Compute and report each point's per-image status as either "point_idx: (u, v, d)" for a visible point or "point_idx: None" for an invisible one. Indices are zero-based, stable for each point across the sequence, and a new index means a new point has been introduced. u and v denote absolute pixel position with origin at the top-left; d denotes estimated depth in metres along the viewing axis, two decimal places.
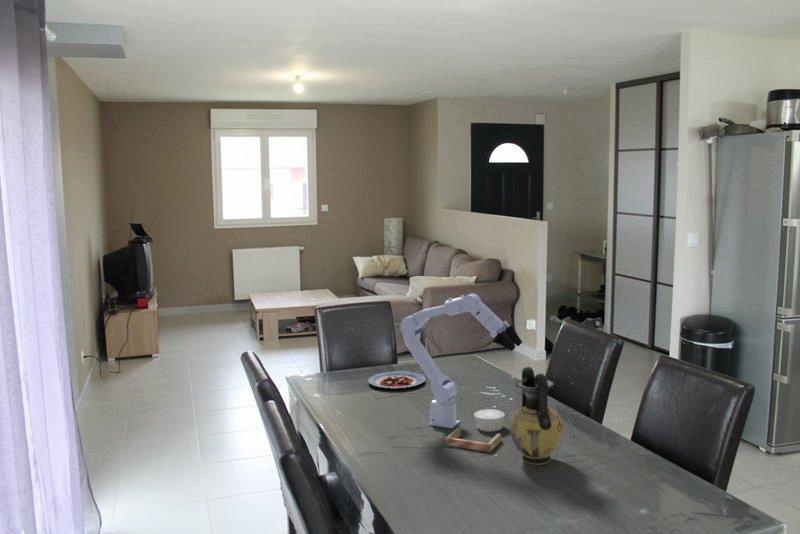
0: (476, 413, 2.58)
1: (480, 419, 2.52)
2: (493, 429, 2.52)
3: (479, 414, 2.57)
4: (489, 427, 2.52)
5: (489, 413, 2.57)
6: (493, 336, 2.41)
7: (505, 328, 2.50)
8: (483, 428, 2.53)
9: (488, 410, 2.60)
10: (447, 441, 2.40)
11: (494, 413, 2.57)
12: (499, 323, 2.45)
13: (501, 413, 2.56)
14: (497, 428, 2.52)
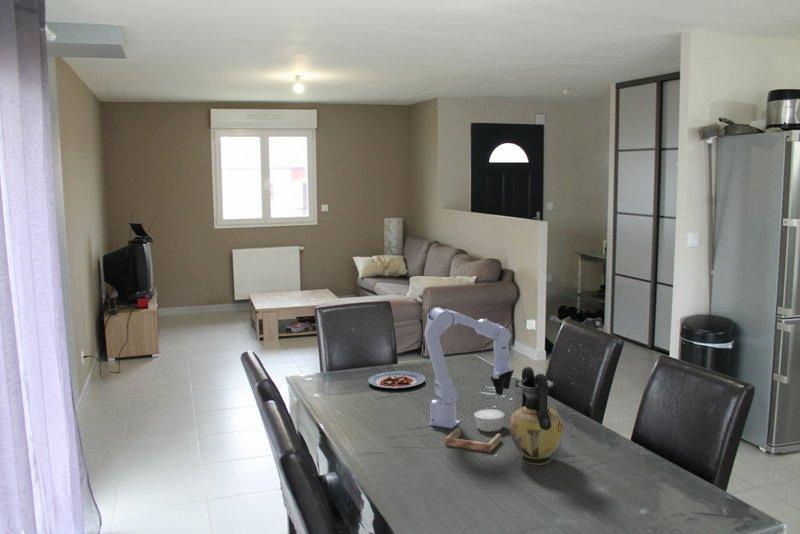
0: (476, 413, 2.58)
1: (480, 419, 2.52)
2: (493, 429, 2.52)
3: (479, 414, 2.57)
4: (489, 427, 2.52)
5: (489, 413, 2.57)
6: (494, 377, 2.59)
7: None
8: (483, 428, 2.53)
9: (488, 410, 2.60)
10: (447, 441, 2.40)
11: (494, 413, 2.57)
12: (506, 368, 2.63)
13: (501, 413, 2.56)
14: (497, 428, 2.52)
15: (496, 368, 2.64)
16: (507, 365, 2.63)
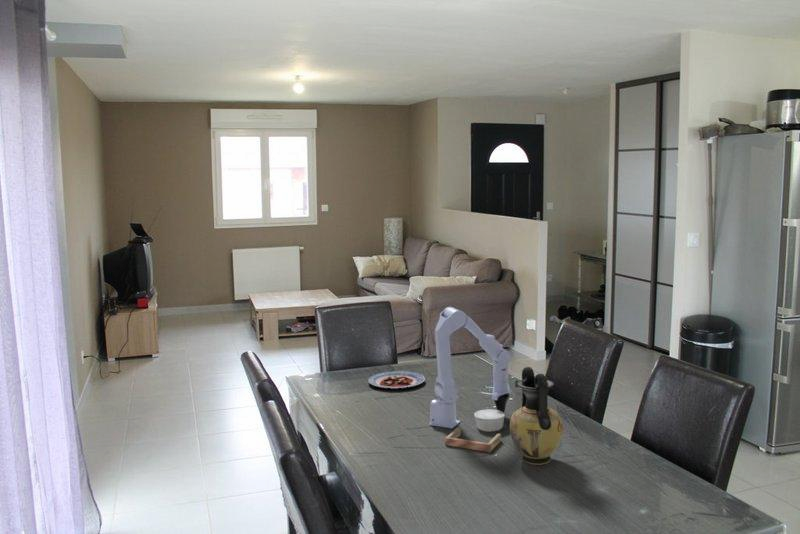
0: (476, 413, 2.58)
1: (480, 419, 2.52)
2: (493, 429, 2.52)
3: (479, 414, 2.57)
4: (489, 427, 2.52)
5: (489, 413, 2.57)
6: (493, 398, 2.61)
7: None
8: (483, 428, 2.53)
9: (488, 410, 2.60)
10: (447, 441, 2.40)
11: (494, 413, 2.57)
12: (505, 389, 2.64)
13: (501, 413, 2.56)
14: (497, 428, 2.52)
15: (495, 389, 2.65)
16: (506, 387, 2.65)
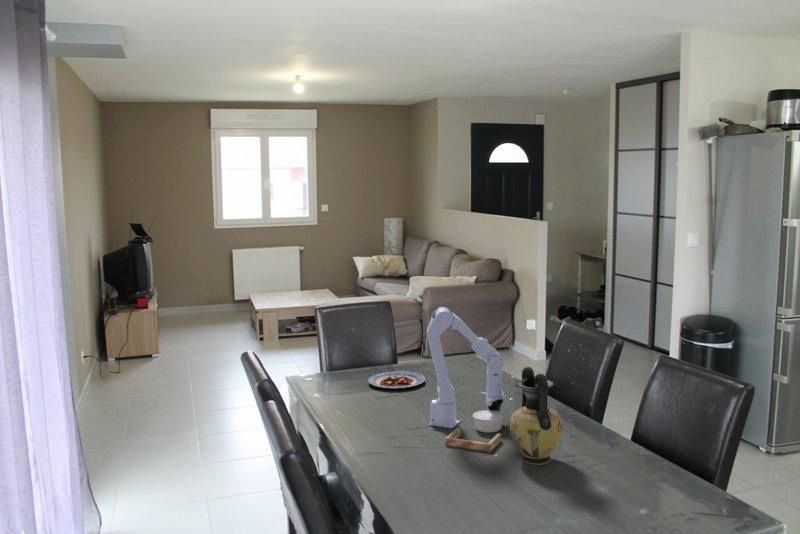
0: (475, 414, 2.57)
1: (479, 420, 2.51)
2: (492, 430, 2.51)
3: (478, 415, 2.56)
4: (488, 428, 2.50)
5: (488, 414, 2.55)
6: (486, 404, 2.55)
7: None
8: (482, 429, 2.51)
9: (487, 411, 2.59)
10: (447, 441, 2.40)
11: (493, 413, 2.56)
12: (499, 395, 2.58)
13: (500, 414, 2.55)
14: (496, 429, 2.51)
15: (488, 395, 2.59)
16: (500, 392, 2.58)
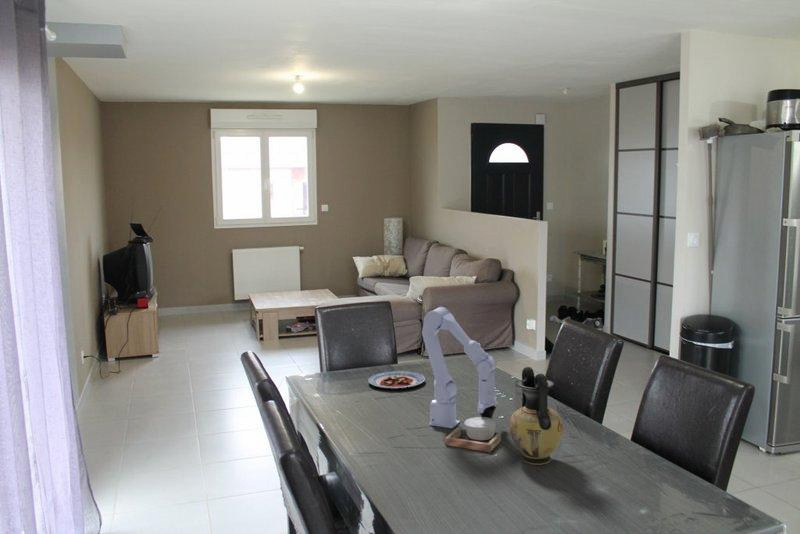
0: (466, 421, 2.49)
1: (470, 427, 2.44)
2: (484, 438, 2.43)
3: (470, 422, 2.49)
4: (480, 436, 2.43)
5: (480, 421, 2.48)
6: (478, 411, 2.47)
7: None
8: (474, 437, 2.44)
9: (479, 418, 2.52)
10: (447, 441, 2.40)
11: (485, 421, 2.49)
12: (491, 401, 2.51)
13: (492, 421, 2.48)
14: (488, 437, 2.44)
15: (481, 401, 2.52)
16: (492, 399, 2.51)
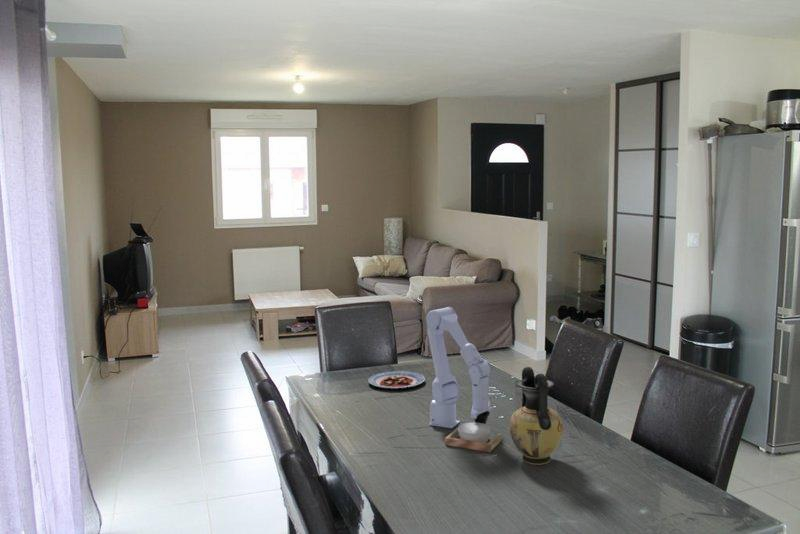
0: (460, 427, 2.44)
1: (464, 433, 2.38)
2: None
3: (463, 428, 2.43)
4: None
5: (474, 427, 2.43)
6: (472, 417, 2.42)
7: None
8: None
9: (473, 423, 2.46)
10: (447, 441, 2.40)
11: (479, 426, 2.43)
12: (485, 407, 2.45)
13: (486, 427, 2.42)
14: None
15: (474, 407, 2.46)
16: (486, 404, 2.45)
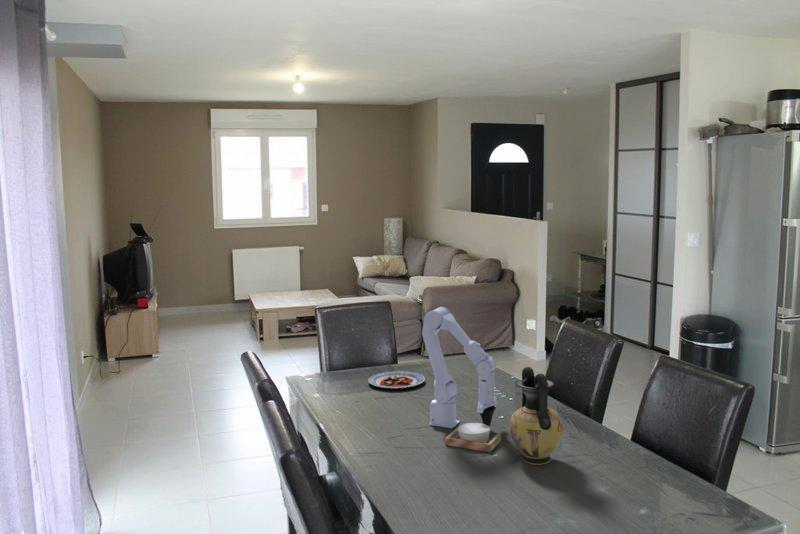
0: (460, 427, 2.44)
1: (464, 434, 2.38)
2: None
3: (463, 428, 2.43)
4: None
5: (474, 427, 2.43)
6: (478, 411, 2.47)
7: None
8: None
9: (473, 424, 2.46)
10: (447, 441, 2.40)
11: (479, 427, 2.43)
12: (491, 402, 2.51)
13: (486, 427, 2.43)
14: None
15: (480, 401, 2.51)
16: (492, 399, 2.51)
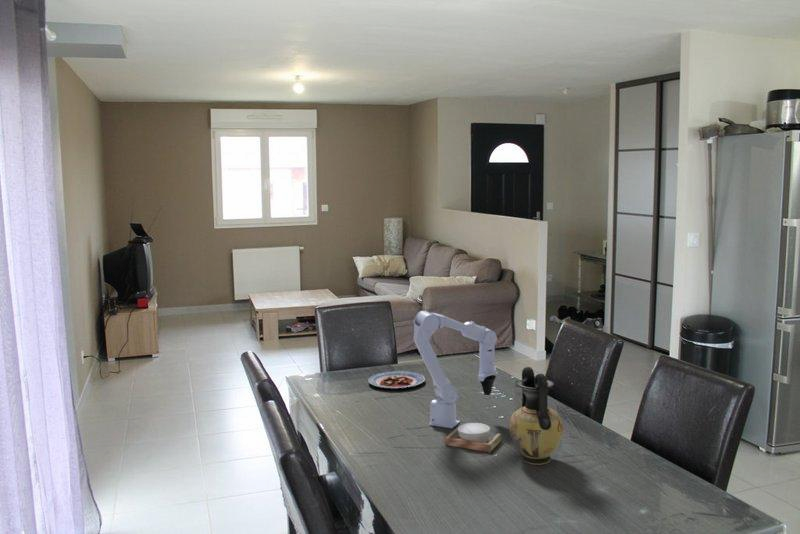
0: (460, 427, 2.44)
1: (464, 434, 2.38)
2: None
3: (463, 428, 2.43)
4: None
5: (474, 427, 2.43)
6: (479, 379, 2.58)
7: None
8: None
9: (473, 424, 2.46)
10: (447, 441, 2.40)
11: (479, 427, 2.43)
12: (491, 371, 2.62)
13: (486, 427, 2.43)
14: None
15: (481, 371, 2.63)
16: (492, 368, 2.62)
